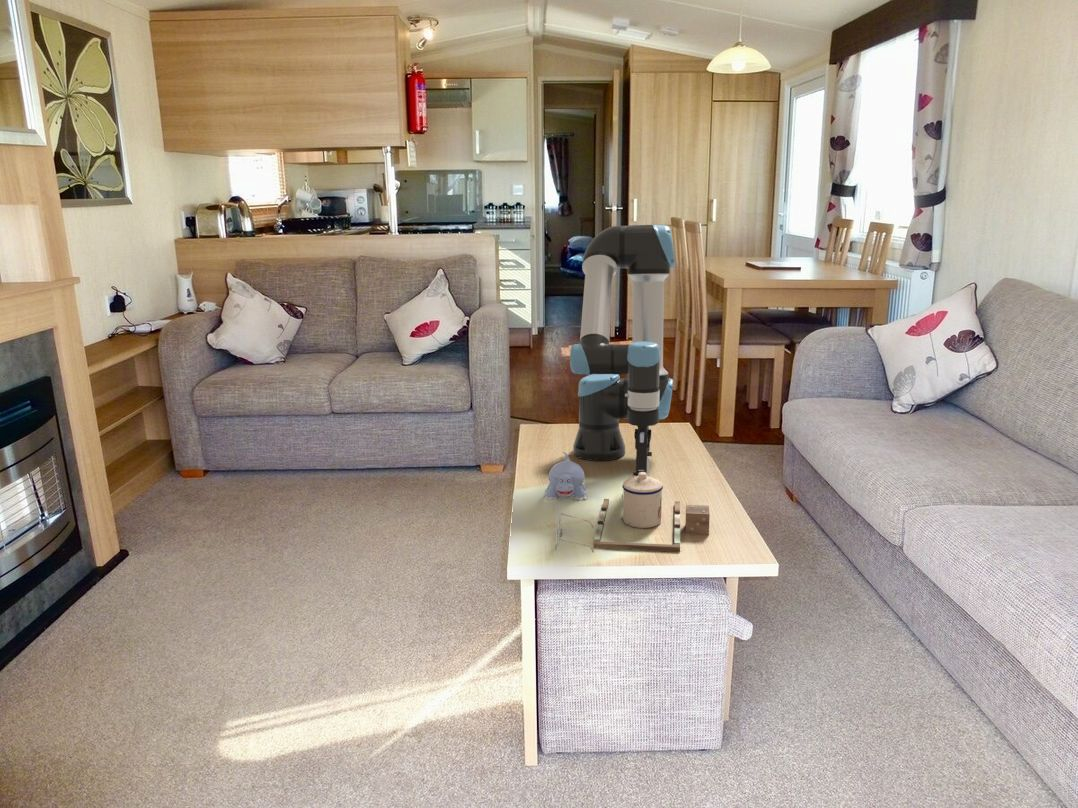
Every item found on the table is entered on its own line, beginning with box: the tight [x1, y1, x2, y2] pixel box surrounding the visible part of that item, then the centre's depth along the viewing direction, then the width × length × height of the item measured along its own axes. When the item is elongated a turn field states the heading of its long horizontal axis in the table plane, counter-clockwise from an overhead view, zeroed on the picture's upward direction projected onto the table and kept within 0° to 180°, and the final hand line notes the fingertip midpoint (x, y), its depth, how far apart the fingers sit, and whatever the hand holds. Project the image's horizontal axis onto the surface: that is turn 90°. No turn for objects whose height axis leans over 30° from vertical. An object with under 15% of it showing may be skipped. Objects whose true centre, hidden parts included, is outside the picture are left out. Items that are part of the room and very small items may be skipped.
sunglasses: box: [555, 511, 595, 553], centre depth 173 cm, size 14×8×5 cm, turn 176°
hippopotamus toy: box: [543, 451, 588, 501], centre depth 197 cm, size 11×15×10 cm
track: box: [592, 498, 681, 553], centre depth 180 cm, size 26×18×2 cm
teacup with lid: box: [621, 472, 664, 529], centre depth 182 cm, size 12×9×12 cm
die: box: [685, 504, 711, 536], centre depth 176 cm, size 5×5×5 cm
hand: (642, 491), depth 195 cm, fingers open, 13 cm apart
